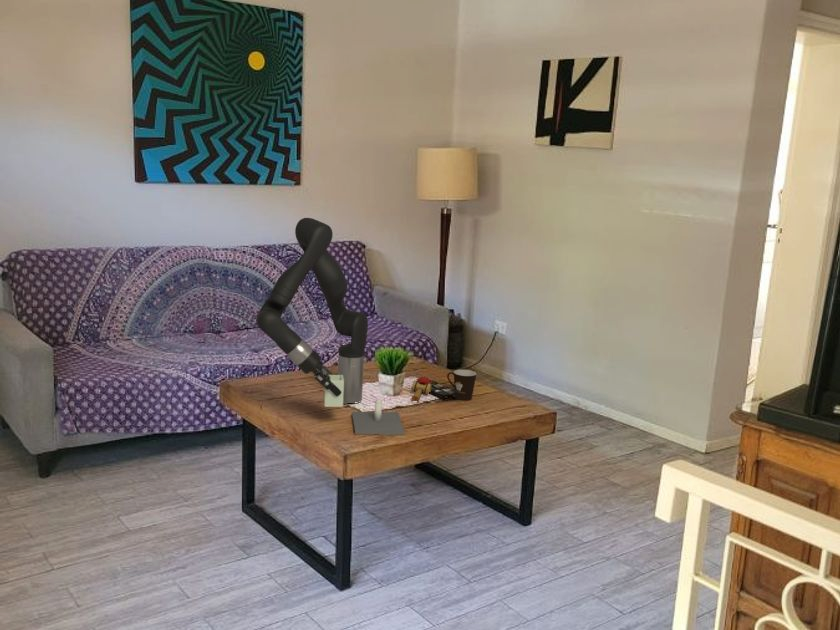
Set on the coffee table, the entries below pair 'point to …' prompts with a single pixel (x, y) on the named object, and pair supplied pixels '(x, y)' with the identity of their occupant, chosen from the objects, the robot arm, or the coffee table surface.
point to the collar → (329, 396)
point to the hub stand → (377, 422)
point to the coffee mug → (463, 384)
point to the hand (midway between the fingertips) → (339, 391)
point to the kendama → (421, 388)
